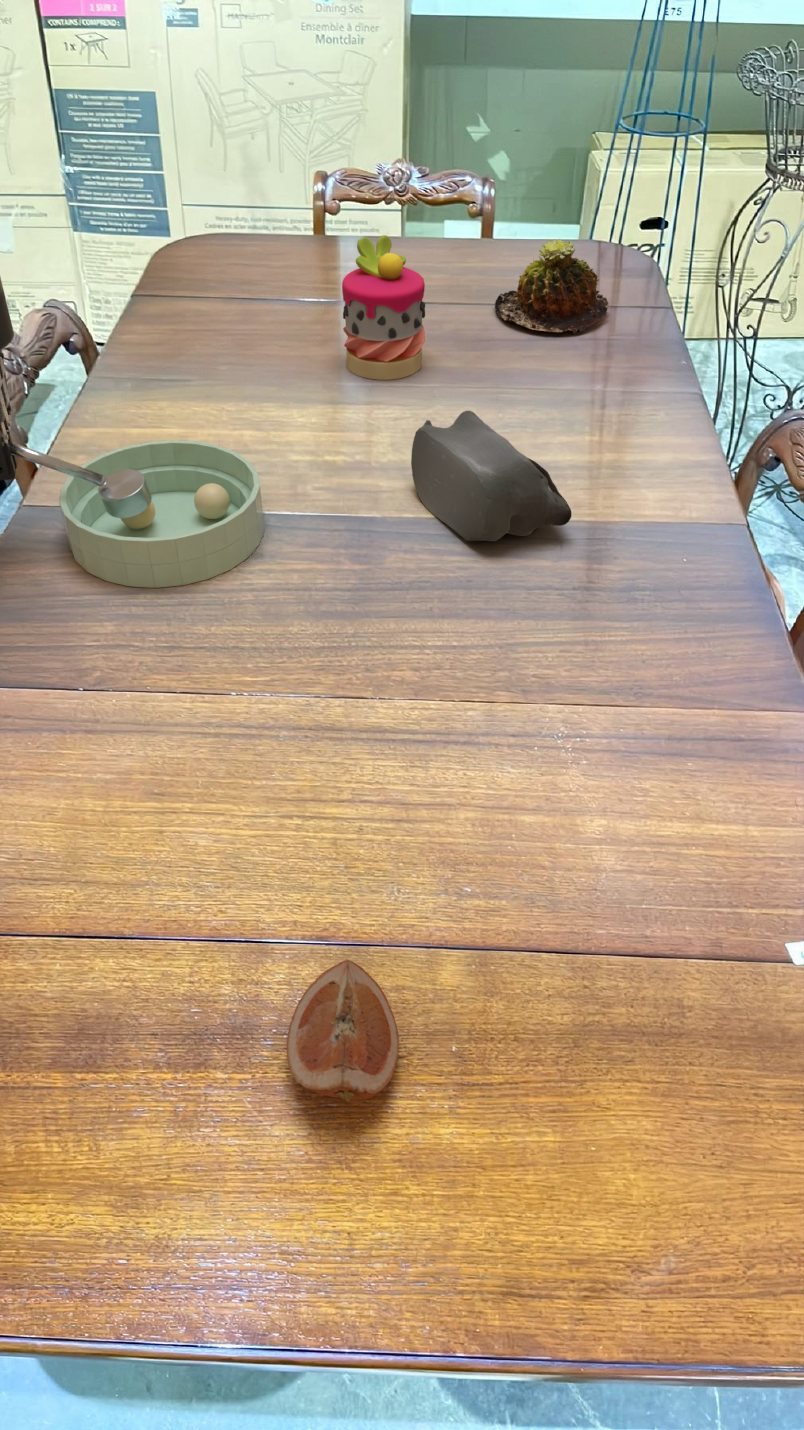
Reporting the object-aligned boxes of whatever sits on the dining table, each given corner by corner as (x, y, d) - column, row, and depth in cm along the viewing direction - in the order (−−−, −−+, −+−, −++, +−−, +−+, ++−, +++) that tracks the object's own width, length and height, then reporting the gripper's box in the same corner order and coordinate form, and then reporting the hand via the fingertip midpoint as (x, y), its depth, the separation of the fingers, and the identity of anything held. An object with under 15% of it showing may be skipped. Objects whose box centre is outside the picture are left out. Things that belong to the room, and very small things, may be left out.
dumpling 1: (163, 525, 110) (133, 520, 111) (160, 491, 108) (130, 486, 110) (143, 536, 107) (112, 530, 108) (140, 501, 106) (109, 495, 107)
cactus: (493, 289, 160) (497, 220, 154) (600, 291, 160) (609, 222, 153) (495, 336, 147) (500, 262, 141) (613, 338, 147) (623, 265, 140)
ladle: (153, 485, 108) (120, 395, 100) (150, 514, 105) (116, 424, 97) (20, 505, 108) (-24, 418, 100) (13, 535, 105) (-32, 448, 97)
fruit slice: (397, 1129, 63) (397, 1085, 59) (281, 1127, 63) (275, 1082, 59) (400, 1004, 69) (400, 958, 66) (295, 1002, 69) (289, 956, 66)
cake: (441, 362, 141) (444, 243, 131) (384, 388, 135) (383, 266, 125) (383, 340, 146) (382, 224, 136) (327, 364, 141) (321, 245, 131)
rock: (584, 537, 110) (593, 467, 105) (490, 568, 106) (495, 496, 100) (486, 460, 122) (490, 394, 117) (399, 485, 118) (399, 418, 112)
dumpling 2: (213, 512, 113) (217, 478, 112) (234, 523, 111) (239, 488, 109) (185, 513, 110) (189, 479, 109) (206, 524, 108) (210, 489, 107)
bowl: (66, 603, 101) (52, 549, 97) (77, 499, 115) (66, 447, 111) (271, 584, 104) (266, 530, 100) (257, 484, 118) (252, 433, 114)
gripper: (-79, 262, 95) (-27, 443, 106) (-106, 322, 85) (-46, 514, 96) (9, 258, 96) (51, 437, 107) (-8, 316, 86) (40, 507, 97)
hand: (5, 473), depth 102 cm, fingers closed on ladle, 1 cm apart
